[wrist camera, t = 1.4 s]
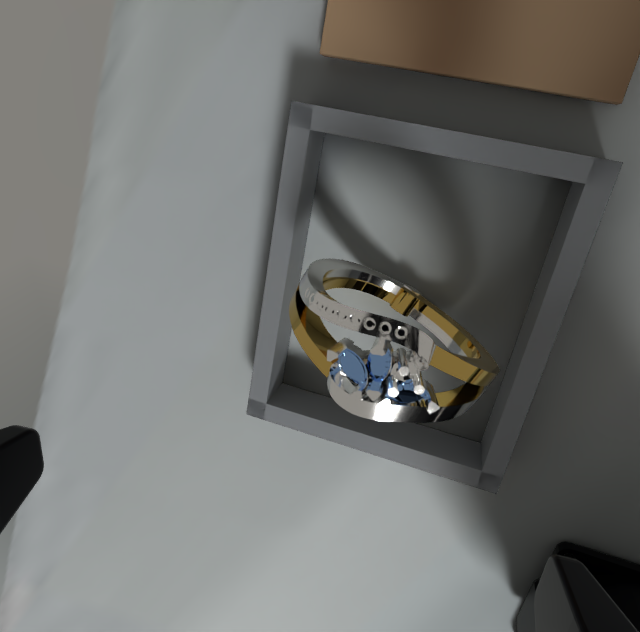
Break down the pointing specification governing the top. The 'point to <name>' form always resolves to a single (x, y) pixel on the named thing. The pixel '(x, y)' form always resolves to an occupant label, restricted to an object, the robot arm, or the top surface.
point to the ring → (386, 348)
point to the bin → (536, 332)
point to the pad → (495, 41)
